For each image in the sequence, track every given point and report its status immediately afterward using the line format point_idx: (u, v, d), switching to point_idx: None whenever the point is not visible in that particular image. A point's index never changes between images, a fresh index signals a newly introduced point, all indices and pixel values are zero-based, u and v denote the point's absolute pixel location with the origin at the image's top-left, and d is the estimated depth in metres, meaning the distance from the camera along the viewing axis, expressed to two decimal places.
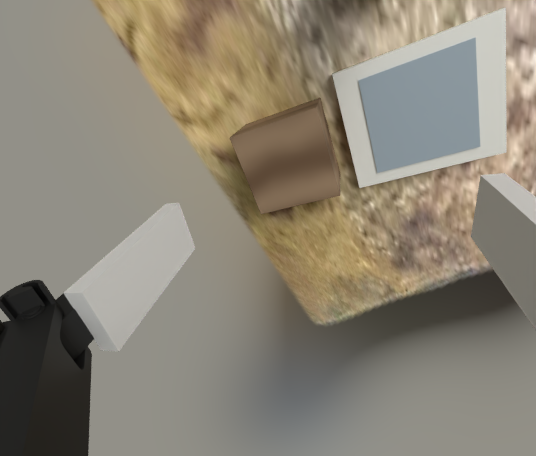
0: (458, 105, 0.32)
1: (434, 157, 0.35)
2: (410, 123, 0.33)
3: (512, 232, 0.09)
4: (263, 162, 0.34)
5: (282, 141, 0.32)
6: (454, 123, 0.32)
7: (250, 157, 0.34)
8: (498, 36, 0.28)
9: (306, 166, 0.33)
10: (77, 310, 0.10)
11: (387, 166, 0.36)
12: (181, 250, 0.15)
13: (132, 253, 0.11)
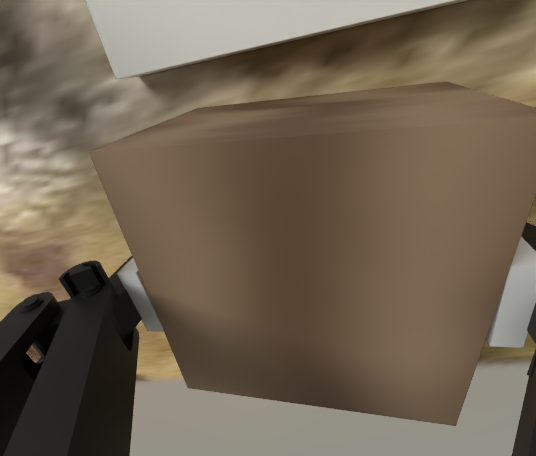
0: None
1: None
2: None
3: None
4: (268, 355, 0.10)
5: (205, 288, 0.09)
6: None
7: (247, 374, 0.11)
8: None
9: (314, 242, 0.08)
10: (129, 290, 0.10)
11: None
12: None
13: None
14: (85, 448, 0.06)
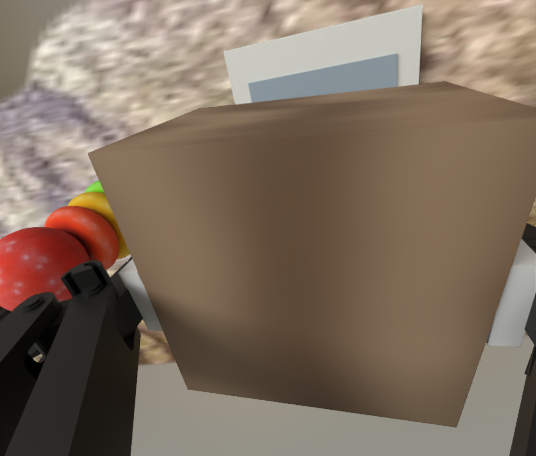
0: (324, 94, 0.23)
1: None
2: None
3: None
4: (268, 357, 0.10)
5: (204, 290, 0.09)
6: None
7: (247, 375, 0.11)
8: (251, 53, 0.23)
9: (313, 243, 0.07)
10: (130, 290, 0.10)
11: None
12: None
13: None
14: (86, 447, 0.06)
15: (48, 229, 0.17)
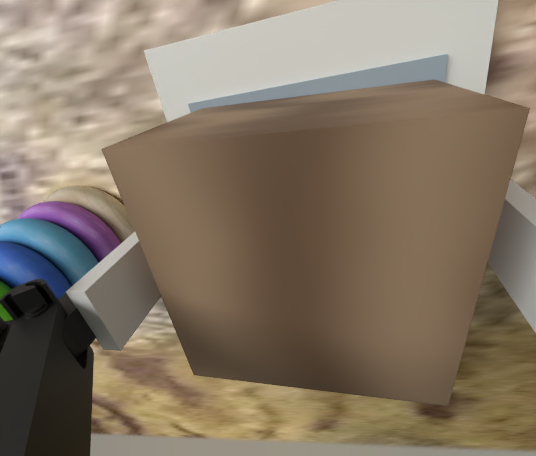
0: None
1: None
2: None
3: (509, 231, 0.09)
4: (270, 340, 0.11)
5: (210, 276, 0.10)
6: None
7: (250, 360, 0.12)
8: (189, 54, 0.13)
9: (309, 230, 0.08)
10: (79, 309, 0.10)
11: None
12: None
13: (134, 252, 0.11)
14: None
15: None
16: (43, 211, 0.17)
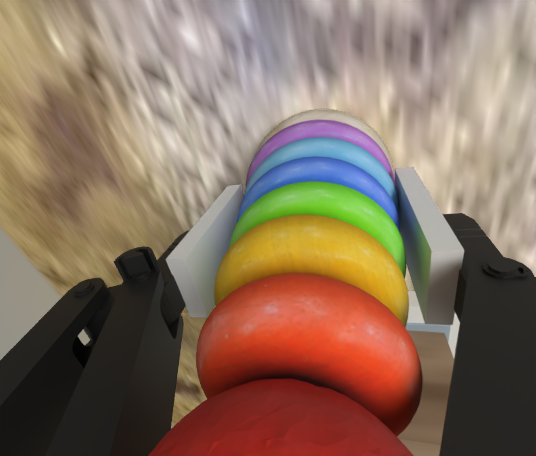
0: None
1: None
2: None
3: (405, 213, 0.11)
4: None
5: None
6: None
7: None
8: None
9: None
10: (176, 276, 0.10)
11: None
12: None
13: (214, 227, 0.12)
14: (129, 437, 0.06)
15: None
16: None
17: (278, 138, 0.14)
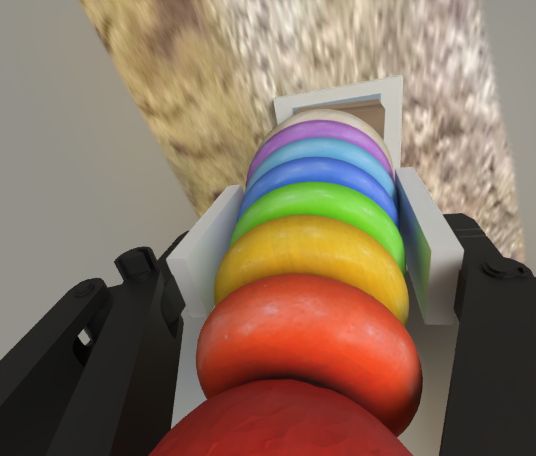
0: None
1: None
2: None
3: (405, 213, 0.11)
4: None
5: None
6: None
7: None
8: (397, 95, 0.37)
9: None
10: (176, 276, 0.10)
11: None
12: None
13: (214, 227, 0.12)
14: (129, 437, 0.06)
15: None
16: None
17: (278, 138, 0.14)
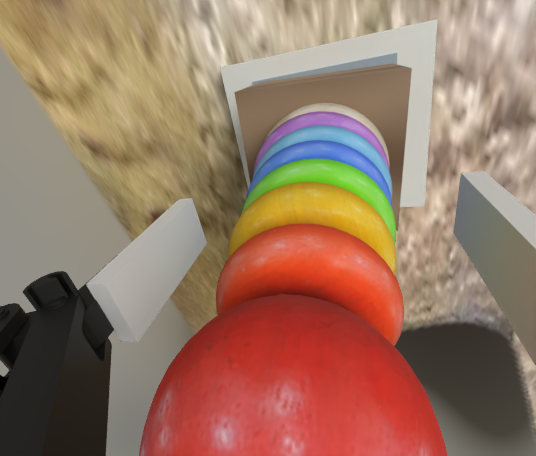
0: None
1: None
2: None
3: (486, 226, 0.10)
4: None
5: None
6: None
7: (263, 137, 0.19)
8: (426, 57, 0.21)
9: None
10: (99, 301, 0.10)
11: None
12: (194, 245, 0.15)
13: (149, 246, 0.12)
14: None
15: None
16: None
17: (283, 128, 0.15)
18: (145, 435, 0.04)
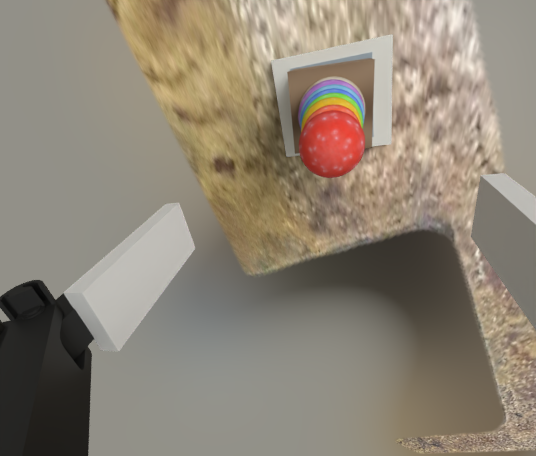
0: None
1: None
2: None
3: (512, 232, 0.09)
4: None
5: None
6: None
7: (301, 96, 0.37)
8: (387, 54, 0.39)
9: None
10: (77, 310, 0.10)
11: None
12: (181, 250, 0.15)
13: (132, 253, 0.11)
14: None
15: None
16: None
17: (315, 87, 0.33)
18: (304, 132, 0.22)
